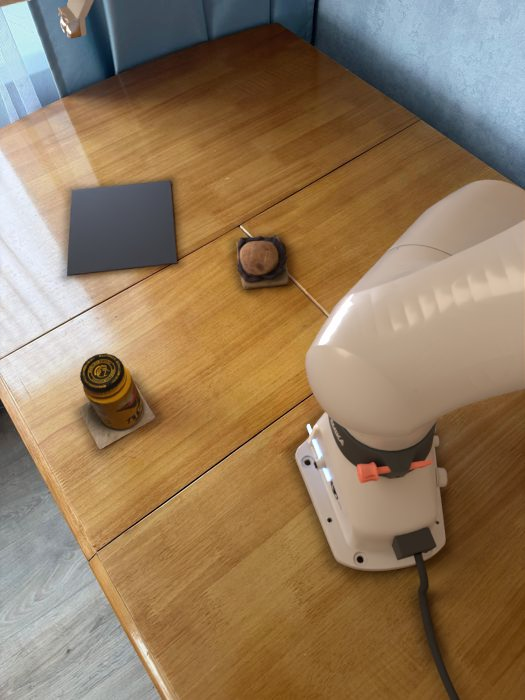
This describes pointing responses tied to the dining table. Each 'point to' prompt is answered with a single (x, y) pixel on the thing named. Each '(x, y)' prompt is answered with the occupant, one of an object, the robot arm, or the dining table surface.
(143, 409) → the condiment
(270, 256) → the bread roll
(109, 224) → the placemat
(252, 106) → the dining table surface
